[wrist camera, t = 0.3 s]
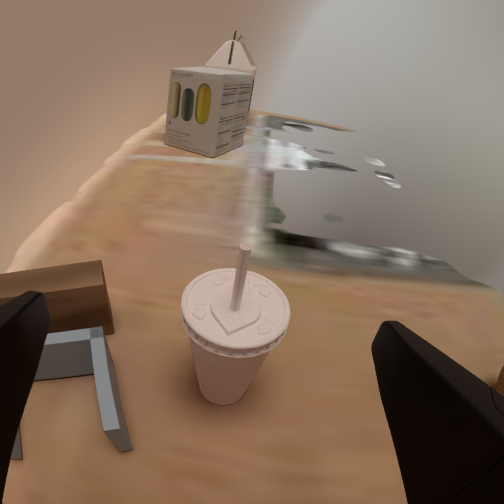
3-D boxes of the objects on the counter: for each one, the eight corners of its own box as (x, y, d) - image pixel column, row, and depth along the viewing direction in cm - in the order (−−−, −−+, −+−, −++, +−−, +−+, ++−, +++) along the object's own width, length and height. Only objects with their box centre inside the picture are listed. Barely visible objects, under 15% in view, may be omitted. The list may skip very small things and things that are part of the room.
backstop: (114, 333, 26) (102, 284, 22) (7, 346, 21) (-19, 300, 18) (111, 309, 28) (101, 259, 24) (10, 322, 23) (-12, 275, 20)
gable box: (244, 132, 81) (261, 33, 65) (196, 126, 80) (208, 27, 64) (248, 116, 99) (261, 37, 83) (209, 111, 98) (220, 32, 82)
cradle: (132, 449, 18) (119, 428, 15) (11, 459, 13) (-20, 437, 11) (112, 360, 23) (102, 326, 20) (9, 372, 19) (-14, 340, 16)
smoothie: (171, 407, 21) (160, 265, 13) (194, 345, 26) (203, 198, 18) (255, 428, 21) (311, 300, 13) (266, 362, 26) (312, 222, 18)
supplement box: (162, 144, 65) (169, 67, 55) (197, 132, 75) (205, 66, 65) (212, 159, 61) (223, 74, 51) (243, 145, 71) (255, 73, 61)
